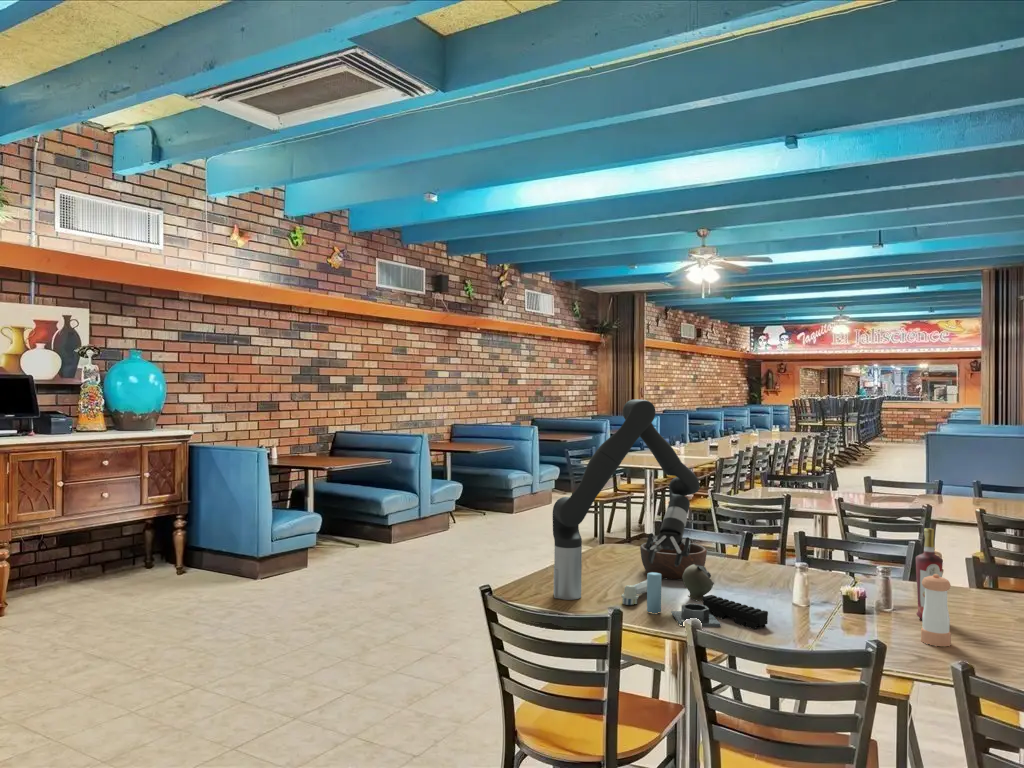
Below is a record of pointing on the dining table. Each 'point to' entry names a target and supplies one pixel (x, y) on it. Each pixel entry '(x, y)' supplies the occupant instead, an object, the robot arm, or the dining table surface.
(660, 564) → the wooden bowl
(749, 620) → the rail mount
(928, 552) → the liquor
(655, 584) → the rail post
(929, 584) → the salt shaker
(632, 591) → the grey handheld tool
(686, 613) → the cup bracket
